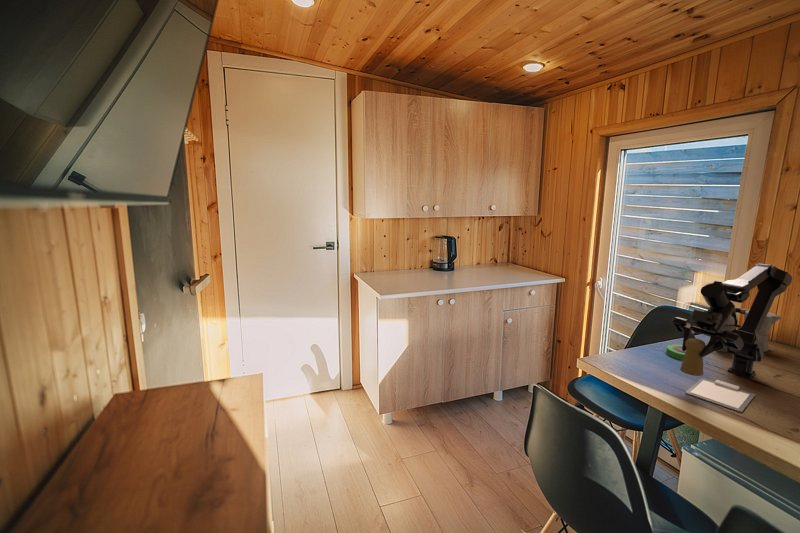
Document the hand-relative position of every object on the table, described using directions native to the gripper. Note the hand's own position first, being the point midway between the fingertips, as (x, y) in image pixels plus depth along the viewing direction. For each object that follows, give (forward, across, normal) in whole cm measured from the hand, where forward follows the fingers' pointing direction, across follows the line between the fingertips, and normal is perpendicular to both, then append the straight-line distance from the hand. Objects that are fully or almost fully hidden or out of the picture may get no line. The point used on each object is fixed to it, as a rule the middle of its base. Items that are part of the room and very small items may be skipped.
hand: (691, 353), depth 122 cm
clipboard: (+4, +6, +15) cm, 16 cm away
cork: (+4, 0, +6) cm, 7 cm away
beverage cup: (-23, -15, +44) cm, 52 cm away
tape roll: (-10, -18, +30) cm, 36 cm away
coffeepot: (-33, -12, +54) cm, 64 cm away
